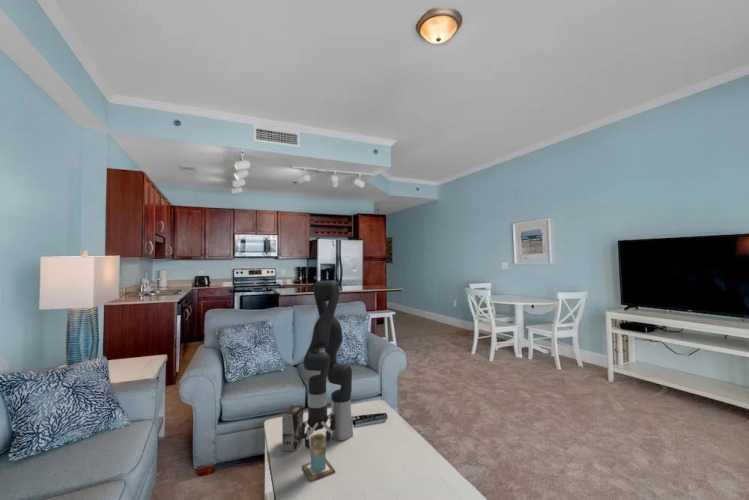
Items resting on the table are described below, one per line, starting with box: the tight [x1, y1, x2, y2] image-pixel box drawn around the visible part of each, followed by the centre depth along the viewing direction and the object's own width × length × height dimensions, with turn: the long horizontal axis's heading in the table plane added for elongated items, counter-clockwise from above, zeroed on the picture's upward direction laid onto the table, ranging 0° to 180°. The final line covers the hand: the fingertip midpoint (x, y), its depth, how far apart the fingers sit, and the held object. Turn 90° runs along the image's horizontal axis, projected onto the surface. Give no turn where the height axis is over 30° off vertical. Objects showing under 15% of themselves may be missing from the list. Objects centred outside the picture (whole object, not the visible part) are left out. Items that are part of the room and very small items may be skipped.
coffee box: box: [281, 405, 304, 452], centre depth 150 cm, size 9×6×16 cm
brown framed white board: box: [301, 458, 336, 483], centre depth 132 cm, size 10×10×1 cm
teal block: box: [310, 451, 327, 472], centre depth 132 cm, size 4×4×6 cm
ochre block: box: [310, 432, 327, 457], centre depth 132 cm, size 4×4×6 cm
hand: (318, 444), depth 132 cm, fingers open, 8 cm apart
